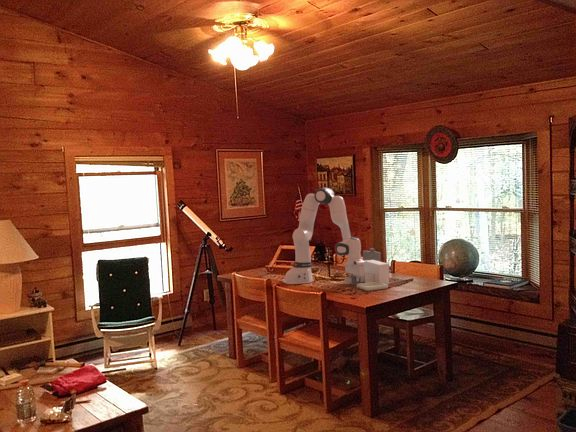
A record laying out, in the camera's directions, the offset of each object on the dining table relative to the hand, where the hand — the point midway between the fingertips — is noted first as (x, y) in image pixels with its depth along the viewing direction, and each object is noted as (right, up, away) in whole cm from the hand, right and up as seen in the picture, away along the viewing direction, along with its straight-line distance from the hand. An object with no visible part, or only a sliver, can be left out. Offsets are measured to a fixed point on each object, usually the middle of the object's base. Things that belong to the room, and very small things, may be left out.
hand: (354, 280), depth 378 cm
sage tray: (+10, -4, -13) cm, 17 cm away
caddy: (-2, -3, -1) cm, 3 cm away
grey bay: (+13, -2, +6) cm, 14 cm away
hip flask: (+17, 0, +34) cm, 39 cm away
